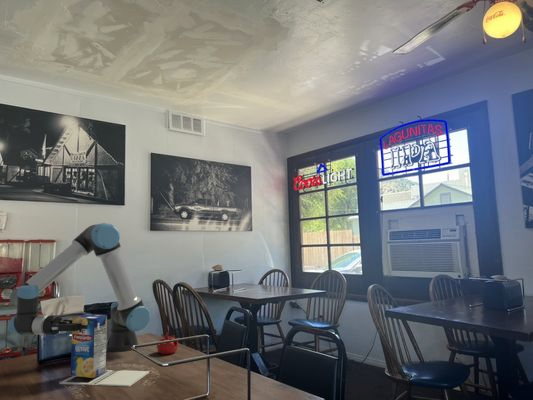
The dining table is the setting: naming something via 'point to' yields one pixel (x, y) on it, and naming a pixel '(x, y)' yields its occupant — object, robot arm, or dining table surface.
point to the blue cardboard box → (89, 346)
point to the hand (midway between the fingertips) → (101, 325)
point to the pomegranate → (167, 346)
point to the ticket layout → (113, 378)
